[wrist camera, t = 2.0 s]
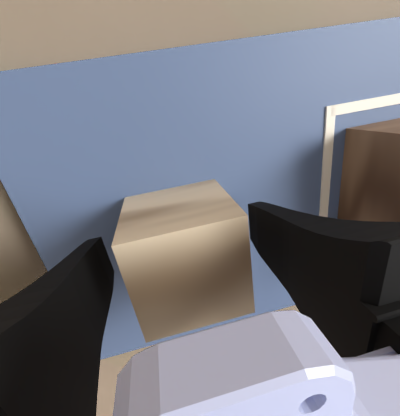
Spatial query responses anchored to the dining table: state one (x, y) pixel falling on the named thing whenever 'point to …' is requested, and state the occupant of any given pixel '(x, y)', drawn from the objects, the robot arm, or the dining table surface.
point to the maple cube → (184, 258)
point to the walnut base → (371, 173)
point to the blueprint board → (190, 137)
